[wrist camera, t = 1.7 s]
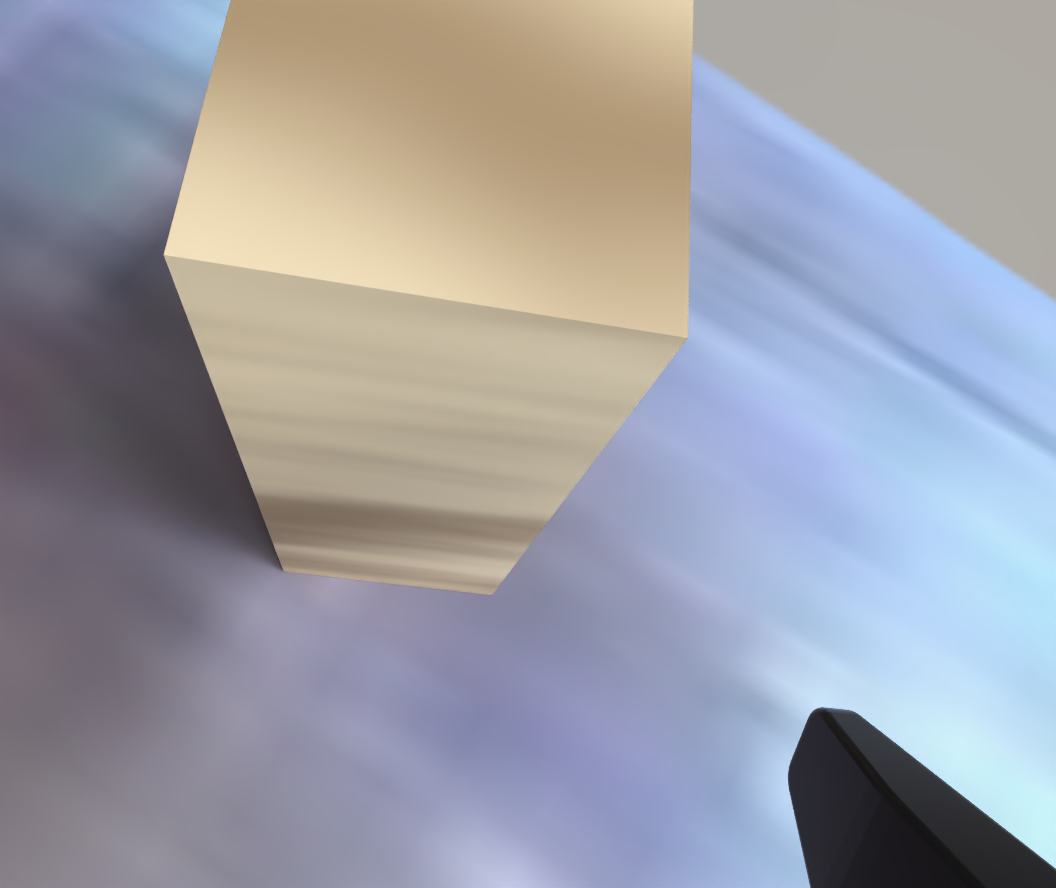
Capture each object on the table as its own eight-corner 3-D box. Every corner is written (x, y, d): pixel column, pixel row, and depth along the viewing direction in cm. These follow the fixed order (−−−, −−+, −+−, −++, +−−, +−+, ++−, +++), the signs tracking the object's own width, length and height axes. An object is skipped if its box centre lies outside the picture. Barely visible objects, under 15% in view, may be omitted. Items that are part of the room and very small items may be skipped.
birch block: (491, 594, 22) (687, 337, 9) (283, 571, 21) (163, 255, 8) (509, 408, 23) (694, -35, 11) (317, 380, 23) (264, -130, 10)
